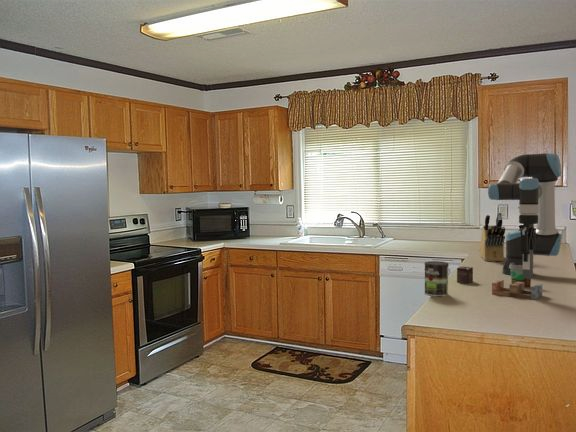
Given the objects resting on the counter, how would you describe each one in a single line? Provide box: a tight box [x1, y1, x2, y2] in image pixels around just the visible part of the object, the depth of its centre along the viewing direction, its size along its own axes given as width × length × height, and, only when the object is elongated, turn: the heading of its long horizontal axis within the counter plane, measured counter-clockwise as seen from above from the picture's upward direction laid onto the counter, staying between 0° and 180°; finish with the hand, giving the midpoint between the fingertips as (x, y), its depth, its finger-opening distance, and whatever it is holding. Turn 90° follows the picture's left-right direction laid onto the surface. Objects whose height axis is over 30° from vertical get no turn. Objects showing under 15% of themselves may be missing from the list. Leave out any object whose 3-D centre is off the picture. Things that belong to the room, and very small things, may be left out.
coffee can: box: [424, 260, 450, 297], centre depth 232 cm, size 10×10×14 cm
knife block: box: [478, 211, 506, 262], centre depth 332 cm, size 11×35×31 cm, turn 167°
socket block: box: [491, 279, 543, 300], centre depth 228 cm, size 10×18×5 cm, turn 48°
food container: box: [509, 263, 532, 288], centre depth 249 cm, size 12×6×10 cm, turn 21°
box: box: [456, 266, 474, 285], centre depth 259 cm, size 6×6×7 cm
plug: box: [523, 250, 534, 280], centre depth 224 cm, size 4×4×12 cm
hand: (527, 268), depth 225 cm, fingers closed on plug, 4 cm apart
